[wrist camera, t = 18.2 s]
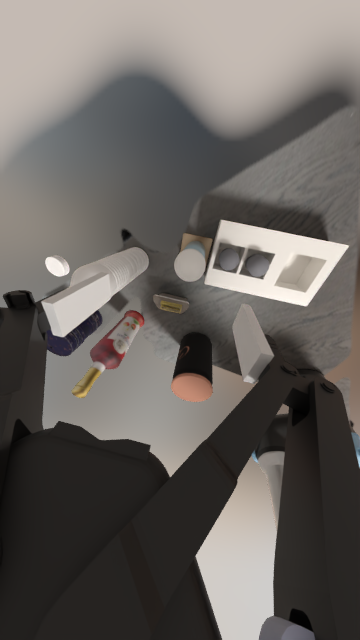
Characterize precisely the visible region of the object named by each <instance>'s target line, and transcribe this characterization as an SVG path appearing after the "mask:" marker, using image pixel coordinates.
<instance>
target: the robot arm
mask: <svg viewBox="0 0 360 640" xmlns="http://www.w3.org/2000/svg"><path fill="white" fill-rule="evenodd" d="M3 298H4V300H5V302H6V304H7V306H8V308H1V307H0V640H222V638H221V634H220V631H219V628H218V625H217V622H216V619H215V616H214V613H213V609H212V606H211V603H210V600H209V597H208V594H207V591H206V588H205V585H204V582H203V579H202V575H201V572H200V569H199V566H198V563H197V560H196V557H195V556H196V554H197V552H198V550H199V549H200V547H201V546H202V544H203V542H204V540H205V539H206V537H207V535H208V534H209V532H210V530H211V529H212V527H213V525H214V524H215V522H216V520H217V518H218V517H219V515H220V513H221V512H222V510H223V508H224V507H225V504H226V503H227V502H228V499H229V498H230V496H231V495H232V493H233V491H234V489H235V487H236V485H237V479H238V477H239V475H240V473H241V471H242V470H243V468H244V467H245V465H246V463H247V462H248V460H249V458H250V457H251V455H252V457H253V459H254V461H255V462H257V463H258V465H259V467H260V469H261V470H262V471H263V472H264V473H265V474H266V476H267V482H268V487H269V492H270V497H271V502H272V508H273V512H274V517H275V523H276V528H277V539H276V549H275V561H274V581H273V588H274V616H272V617H269V618H267V619H266V621H265V622H264V624H263V625H262V628H261V632H260V636H259V640H360V438H359V436H358V435H357V434H356V433H355V431H354V430H353V428H352V427H351V425H350V424H349V421H348V417H347V413H346V408H345V404H344V400H343V396H342V393H341V391H340V390H339V389H338V388H337V387H336V386H335V385H334V384H333V383H331V382H330V381H328V380H326V379H325V377H324V376H323V375H322V374H321V373H319V372H317V371H314V370H308V369H301V370H296V368H295V367H293V366H292V365H291V364H289V363H287V362H285V361H284V359H283V357H282V355H281V353H280V351H279V350H278V347H277V346H276V344H275V342H274V340H273V339H272V338H271V337H270V336H269V335H266V334H264V333H263V331H262V329H261V327H260V325H259V323H258V321H257V318H256V316H255V314H254V312H253V310H252V308H251V306H250V305H247V304H242V305H241V307H240V310H239V312H238V314H237V316H236V319H235V321H234V323H233V326H232V329H233V334H234V339H235V343H236V348H237V353H238V358H239V363H240V368H241V372H242V377H243V381H245V382H249V383H253V384H254V383H255V382H256V381H257V380H258V379H259V382H258V383H257V384H256V385H255V386H254V387H253V389H252V390H251V391H250V392H249V393H248V394H247V395H246V396H245V397H244V399H243V400H242V401H241V402H240V403H239V404H238V405H237V406H236V407H235V409H234V410H233V411H232V412H231V413H230V414H229V415H228V416H227V417H226V419H225V420H224V421H223V422H222V423H221V424H220V425H219V426H218V427H217V428H216V430H215V431H214V432H213V433H212V434H211V435H210V436H209V437H208V438H207V439H206V440H205V441H204V442H202V443H201V444H200V445H199V447H198V448H197V449H196V450H195V451H194V452H193V453H192V454H191V455H190V456H189V457H188V459H187V460H186V461H185V462H184V463H183V464H182V465H181V466H180V467H179V468H178V470H177V471H176V472H175V473H174V474H173V475H172V477H169V474H168V473H167V471H166V469H165V467H164V465H163V464H162V463H161V461H160V460H159V459H158V458H157V457H156V456H155V455H154V454H152V453H151V452H149V451H150V445H148V444H144V443H140V442H136V441H132V440H129V439H121V440H99V439H97V438H96V437H94V436H93V435H92V434H90V433H89V432H88V431H86V430H85V429H83V428H82V427H80V426H76V425H72V424H68V423H64V422H61V421H58V423H57V424H56V425H55V427H54V428H50V429H45V430H43V425H42V414H43V400H44V384H45V369H46V354H47V339H48V335H47V332H46V331H48V330H49V329H51V331H52V333H53V335H55V336H59V337H64V336H66V335H67V334H68V333H69V332H70V331H72V330H73V329H74V328H75V327H77V326H78V325H79V324H80V323H82V322H83V321H84V320H85V319H87V318H88V317H89V316H90V315H92V314H93V313H94V312H95V311H97V310H98V309H99V308H100V307H101V306H103V305H104V304H105V303H106V302H108V301H109V300H110V299H111V294H110V282H109V274H108V273H104V272H100V273H98V274H96V275H94V276H92V277H90V278H88V279H86V280H84V281H82V282H80V283H78V284H76V285H74V286H71V287H69V288H67V289H65V290H62V291H59V292H57V293H55V294H53V295H50V296H49V297H46V298H44V299H42V300H40V301H38V302H36V303H35V301H34V298H33V296H32V293H31V292H29V291H25V290H18V291H12V292H8V293H6V294H4V295H3ZM282 404H285V405H287V406H289V413H288V414H279V415H276V414H277V412H278V411H279V409H280V407H281V406H282Z"/></svg>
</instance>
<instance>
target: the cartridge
mask: <svg viewBox="0 0 360 640" xmlns="http://www.w3.org/2000/svg"><path fill="white" fill-rule="evenodd" d="M205 265H206V263H205V247H204V245H203V244H202V243H201V242H199V241H192V242H190V243H189V244H188V245H187V246H186V247H185V249H184V250H183V251H182V252H180V253H179V254H178V256H177V257H176V259H175V263H174V268H175V272H176V274H177V275H178V277H180V278H181V279H182V280H184V281H188V282H192V281H196V280H198V279H199V278H200V277H201V276H202V275H203V273H204V271H205Z"/></svg>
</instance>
